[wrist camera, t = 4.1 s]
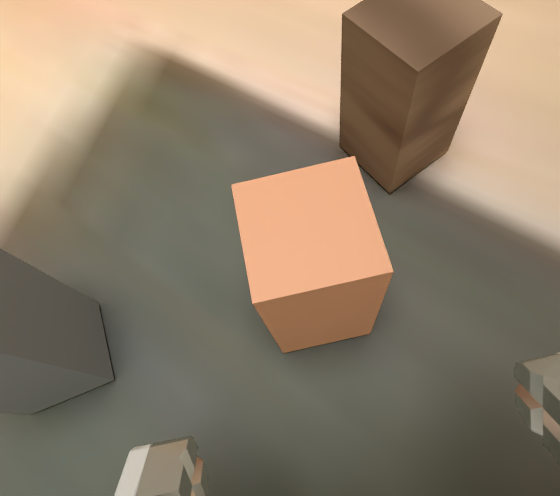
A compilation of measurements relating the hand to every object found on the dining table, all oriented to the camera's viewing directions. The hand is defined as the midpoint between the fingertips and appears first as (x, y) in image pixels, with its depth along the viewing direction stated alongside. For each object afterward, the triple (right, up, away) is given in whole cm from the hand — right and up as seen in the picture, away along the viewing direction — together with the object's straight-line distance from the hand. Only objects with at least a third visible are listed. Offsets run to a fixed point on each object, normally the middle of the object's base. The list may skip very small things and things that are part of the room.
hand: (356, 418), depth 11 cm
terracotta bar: (0, +1, +12) cm, 12 cm away
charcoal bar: (-13, -2, +12) cm, 18 cm away
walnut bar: (+5, +10, +15) cm, 19 cm away
